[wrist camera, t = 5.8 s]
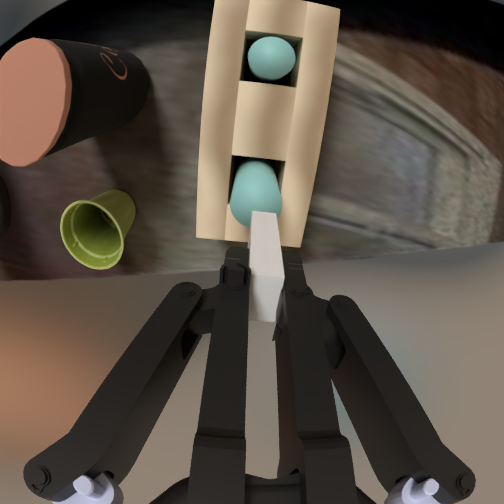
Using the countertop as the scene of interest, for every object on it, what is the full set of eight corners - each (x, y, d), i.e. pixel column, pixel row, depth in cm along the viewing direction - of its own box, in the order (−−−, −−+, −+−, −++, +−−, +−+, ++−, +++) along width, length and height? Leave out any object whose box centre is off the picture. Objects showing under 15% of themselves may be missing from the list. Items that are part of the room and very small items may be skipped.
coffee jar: (168, 72, 28) (90, 62, 12) (124, 142, 32) (38, 190, 17) (107, 39, 24) (11, 25, 9) (70, 107, 29) (-27, 137, 13)
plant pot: (80, 195, 36) (48, 222, 28) (125, 165, 34) (94, 187, 26) (112, 244, 40) (88, 278, 33) (158, 221, 38) (137, 254, 31)
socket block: (208, 204, 37) (196, 237, 29) (225, 16, 24) (216, -8, 16) (290, 212, 38) (300, 247, 30) (319, 28, 24) (340, 9, 17)
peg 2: (234, 191, 29) (228, 225, 22) (237, 154, 27) (232, 177, 20) (272, 195, 29) (278, 230, 23) (277, 159, 27) (285, 183, 21)
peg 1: (247, 80, 27) (245, 75, 20) (251, 48, 25) (250, 34, 18) (283, 84, 27) (292, 81, 21) (287, 52, 25) (297, 40, 18)
